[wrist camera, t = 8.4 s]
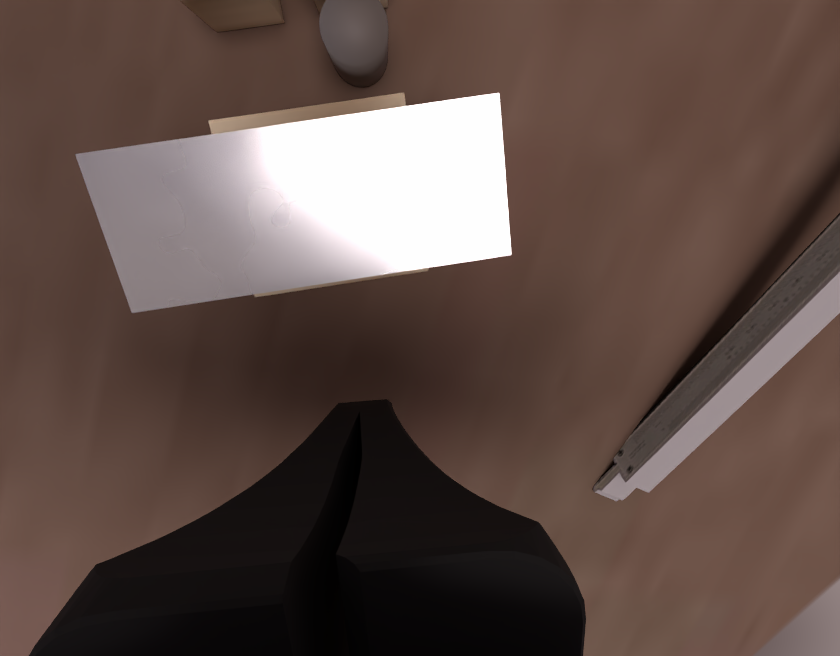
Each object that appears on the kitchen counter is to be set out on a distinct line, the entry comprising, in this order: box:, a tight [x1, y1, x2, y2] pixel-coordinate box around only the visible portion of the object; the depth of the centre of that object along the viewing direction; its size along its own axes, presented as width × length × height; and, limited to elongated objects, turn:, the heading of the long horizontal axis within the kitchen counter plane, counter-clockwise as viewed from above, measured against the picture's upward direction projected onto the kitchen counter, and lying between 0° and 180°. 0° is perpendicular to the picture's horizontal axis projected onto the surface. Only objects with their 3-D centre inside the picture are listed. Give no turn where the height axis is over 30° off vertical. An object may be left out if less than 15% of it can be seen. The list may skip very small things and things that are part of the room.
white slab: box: [75, 93, 512, 313], centre depth 10 cm, size 7×3×5 cm, turn 98°
